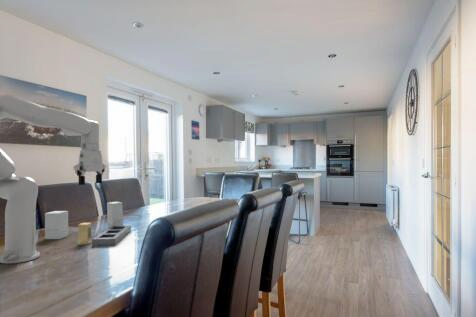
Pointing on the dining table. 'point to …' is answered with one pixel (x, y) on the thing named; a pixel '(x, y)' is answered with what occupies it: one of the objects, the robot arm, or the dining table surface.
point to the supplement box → (56, 225)
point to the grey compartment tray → (111, 236)
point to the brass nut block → (84, 233)
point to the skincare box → (114, 214)
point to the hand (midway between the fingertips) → (90, 183)
